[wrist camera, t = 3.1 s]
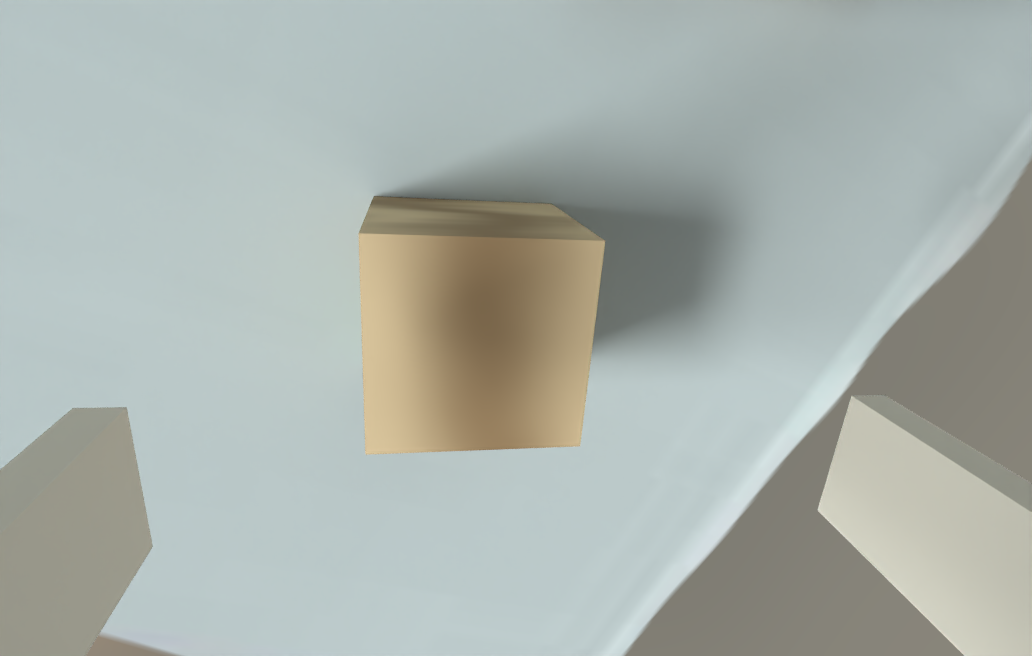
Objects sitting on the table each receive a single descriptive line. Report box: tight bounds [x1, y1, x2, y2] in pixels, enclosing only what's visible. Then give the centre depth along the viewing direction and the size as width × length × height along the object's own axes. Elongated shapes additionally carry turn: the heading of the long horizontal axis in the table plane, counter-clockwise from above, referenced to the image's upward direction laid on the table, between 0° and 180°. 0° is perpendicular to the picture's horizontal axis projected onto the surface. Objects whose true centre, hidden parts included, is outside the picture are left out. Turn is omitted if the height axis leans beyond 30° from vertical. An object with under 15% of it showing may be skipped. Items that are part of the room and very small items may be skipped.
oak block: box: [359, 196, 605, 454], centre depth 18 cm, size 6×6×6 cm
